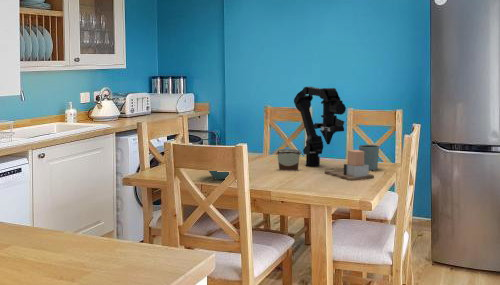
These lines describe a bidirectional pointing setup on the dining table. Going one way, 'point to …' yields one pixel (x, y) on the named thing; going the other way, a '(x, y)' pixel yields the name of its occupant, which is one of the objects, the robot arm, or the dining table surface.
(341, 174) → the walnut board
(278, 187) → the dining table surface
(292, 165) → the food container
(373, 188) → the dining table surface
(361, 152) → the terracotta peg
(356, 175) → the grey block
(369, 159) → the grey embossed cylinder
